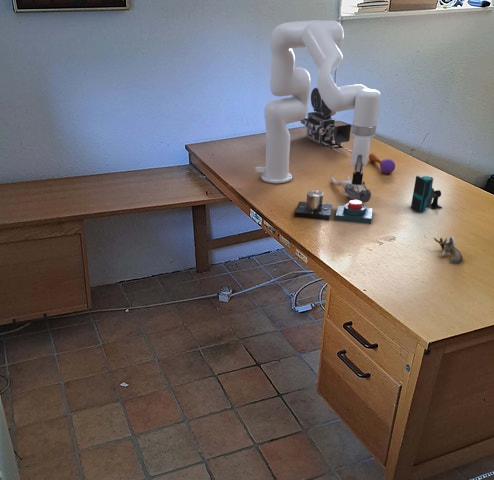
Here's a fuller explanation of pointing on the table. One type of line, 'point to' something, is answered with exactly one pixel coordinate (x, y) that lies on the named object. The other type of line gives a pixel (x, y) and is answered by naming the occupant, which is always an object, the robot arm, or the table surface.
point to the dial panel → (313, 212)
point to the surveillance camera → (424, 194)
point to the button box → (354, 214)
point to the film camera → (325, 125)
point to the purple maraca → (383, 163)
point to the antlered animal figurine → (450, 249)
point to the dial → (314, 200)
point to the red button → (355, 204)
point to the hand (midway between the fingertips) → (356, 183)
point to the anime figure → (353, 189)
